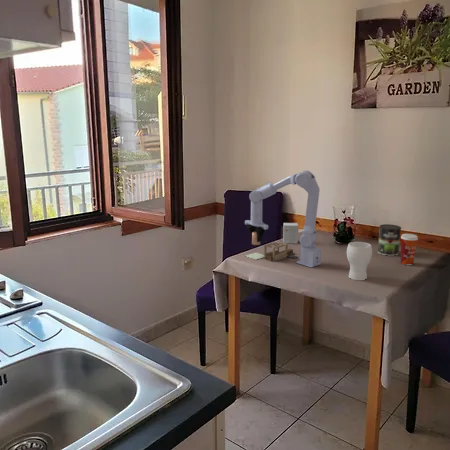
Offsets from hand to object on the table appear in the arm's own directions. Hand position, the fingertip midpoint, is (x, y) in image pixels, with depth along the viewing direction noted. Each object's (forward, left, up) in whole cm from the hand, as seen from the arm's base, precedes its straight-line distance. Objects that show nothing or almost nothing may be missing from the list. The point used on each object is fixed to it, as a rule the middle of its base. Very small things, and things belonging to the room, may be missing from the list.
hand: (256, 240), depth 228 cm
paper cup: (-56, -46, -8) cm, 73 cm away
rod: (-8, -9, -9) cm, 15 cm away
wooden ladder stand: (-8, -6, -8) cm, 13 cm away
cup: (-51, -12, -8) cm, 53 cm away
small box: (+6, -33, -9) cm, 35 cm away
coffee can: (-41, -55, -8) cm, 69 cm away
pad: (0, 0, -8) cm, 8 cm away
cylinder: (0, 0, -2) cm, 2 cm away
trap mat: (-13, -13, -8) cm, 20 cm away
